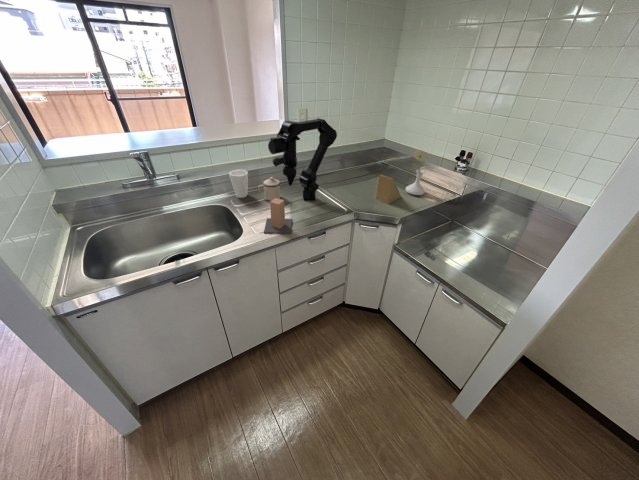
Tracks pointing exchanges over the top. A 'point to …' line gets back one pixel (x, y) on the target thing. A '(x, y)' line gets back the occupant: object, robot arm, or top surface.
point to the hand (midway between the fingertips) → (290, 181)
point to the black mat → (284, 230)
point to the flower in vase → (416, 187)
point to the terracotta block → (277, 213)
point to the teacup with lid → (271, 189)
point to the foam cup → (239, 182)
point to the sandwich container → (387, 190)
